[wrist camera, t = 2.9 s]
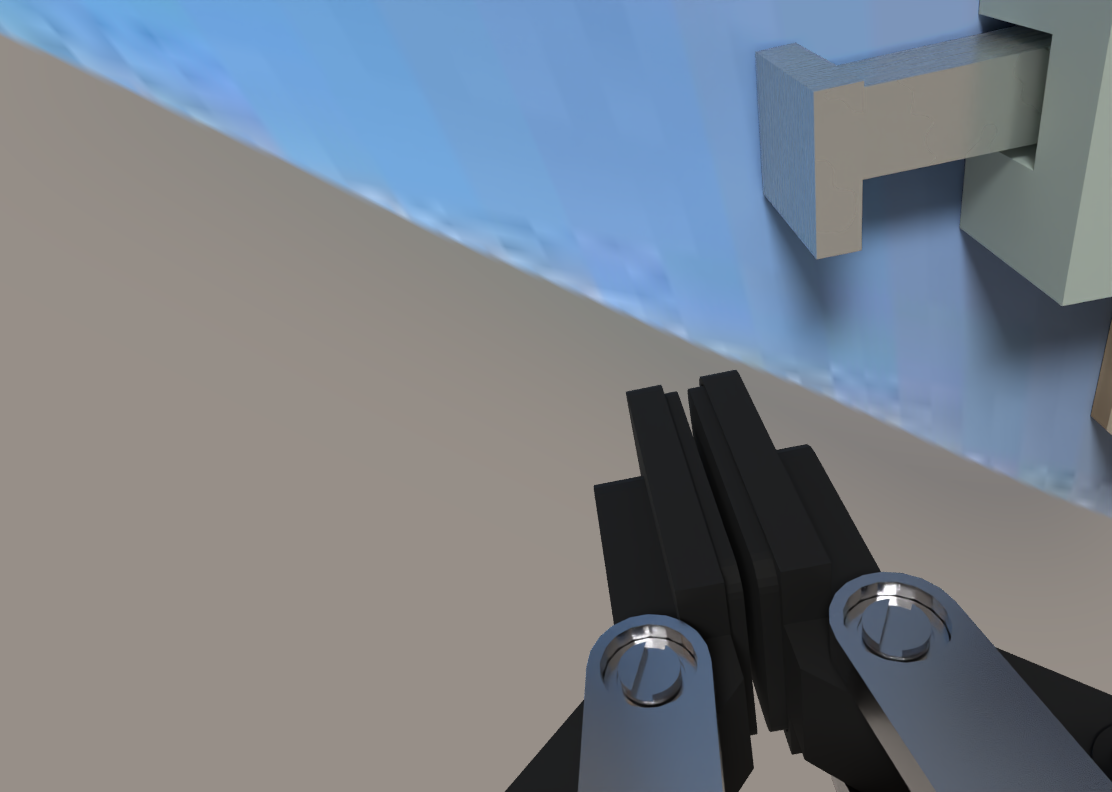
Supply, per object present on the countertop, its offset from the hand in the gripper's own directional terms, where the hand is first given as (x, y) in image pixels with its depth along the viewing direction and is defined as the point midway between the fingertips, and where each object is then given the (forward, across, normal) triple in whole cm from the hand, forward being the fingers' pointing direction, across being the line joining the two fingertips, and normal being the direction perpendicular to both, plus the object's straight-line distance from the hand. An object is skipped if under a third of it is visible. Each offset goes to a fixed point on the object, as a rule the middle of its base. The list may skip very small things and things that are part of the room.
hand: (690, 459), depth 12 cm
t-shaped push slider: (+15, -9, 0) cm, 18 cm away
